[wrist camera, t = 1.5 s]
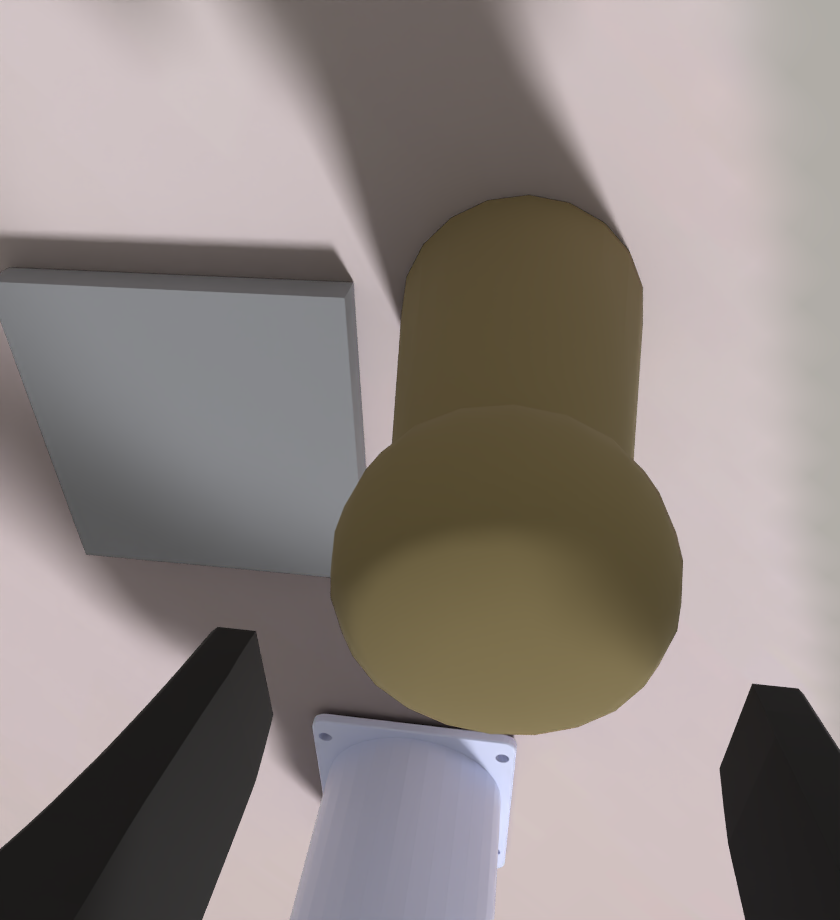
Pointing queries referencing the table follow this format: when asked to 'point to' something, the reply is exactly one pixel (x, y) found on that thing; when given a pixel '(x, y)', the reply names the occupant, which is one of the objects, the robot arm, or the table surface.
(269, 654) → the table surface
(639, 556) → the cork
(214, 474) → the mat
